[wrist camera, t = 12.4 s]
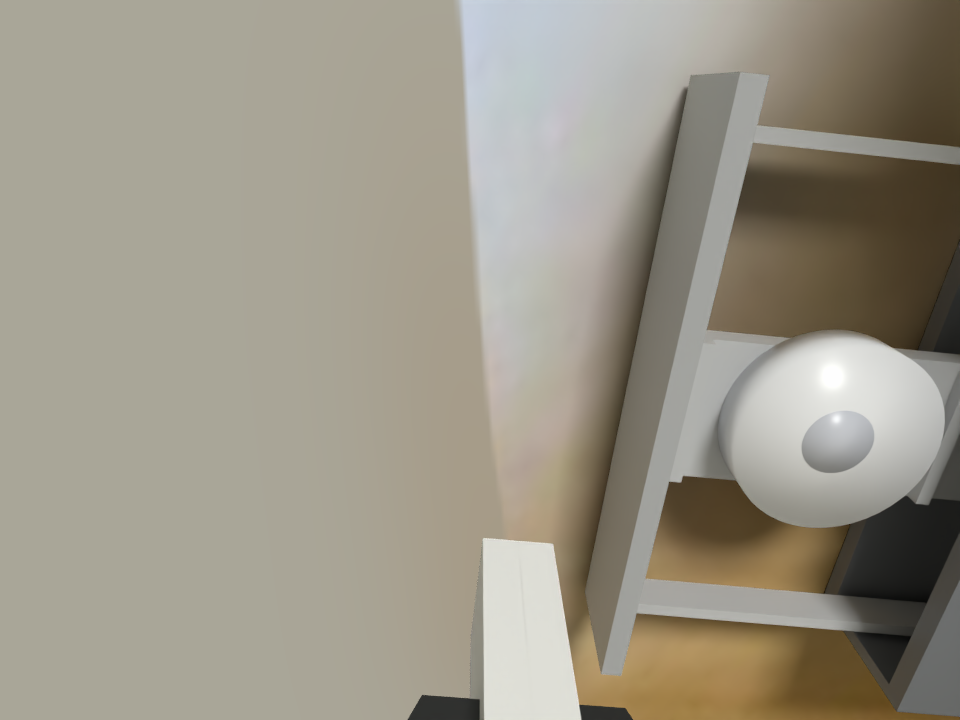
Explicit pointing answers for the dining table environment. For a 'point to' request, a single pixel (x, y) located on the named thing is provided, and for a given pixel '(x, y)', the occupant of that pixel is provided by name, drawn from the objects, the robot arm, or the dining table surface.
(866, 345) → the disc
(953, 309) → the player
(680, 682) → the dining table surface
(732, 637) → the dining table surface
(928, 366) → the tray
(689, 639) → the dining table surface
